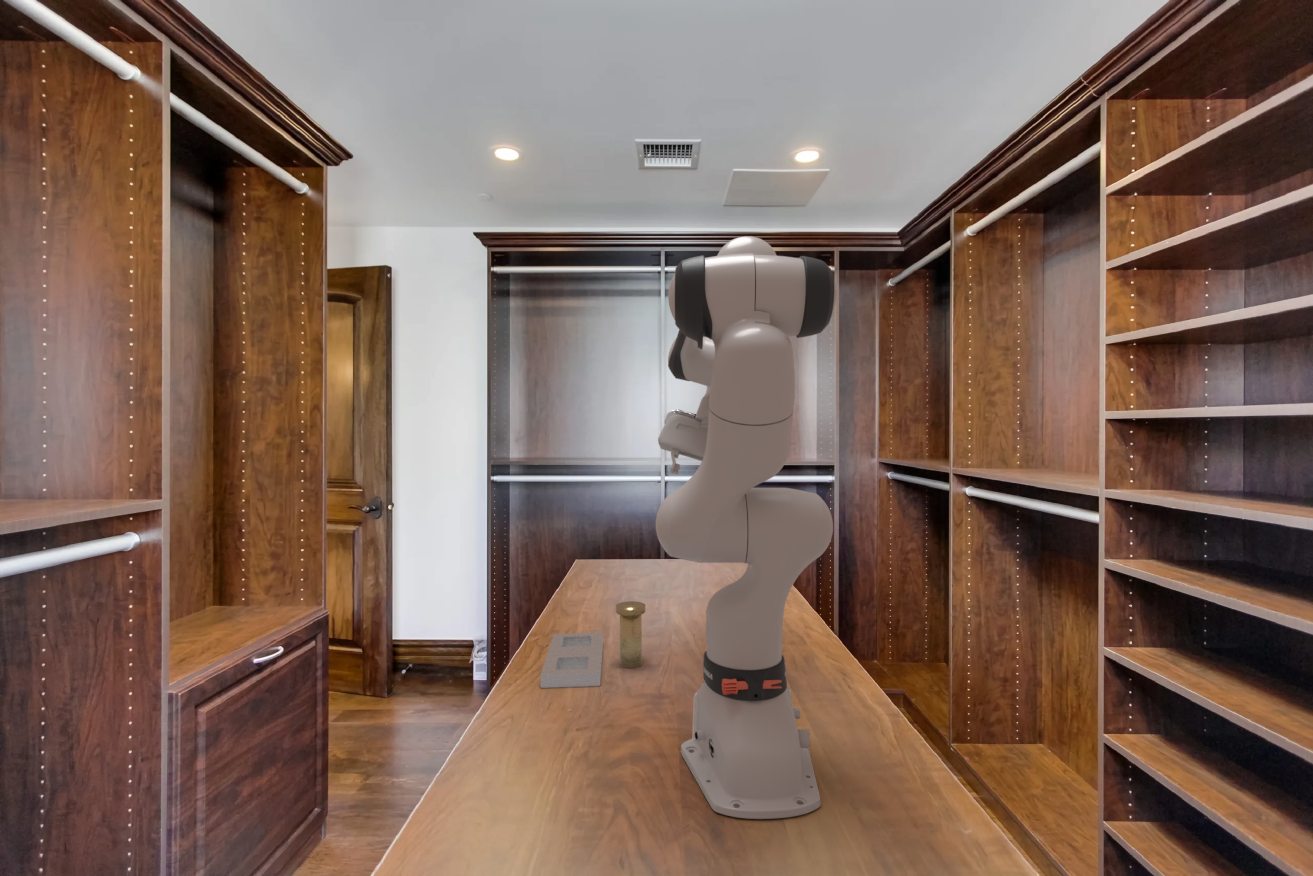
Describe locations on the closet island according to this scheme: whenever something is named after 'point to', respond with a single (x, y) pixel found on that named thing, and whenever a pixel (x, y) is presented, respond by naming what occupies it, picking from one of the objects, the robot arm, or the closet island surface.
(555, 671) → the plate
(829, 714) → the closet island surface
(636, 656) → the brass capped peg
